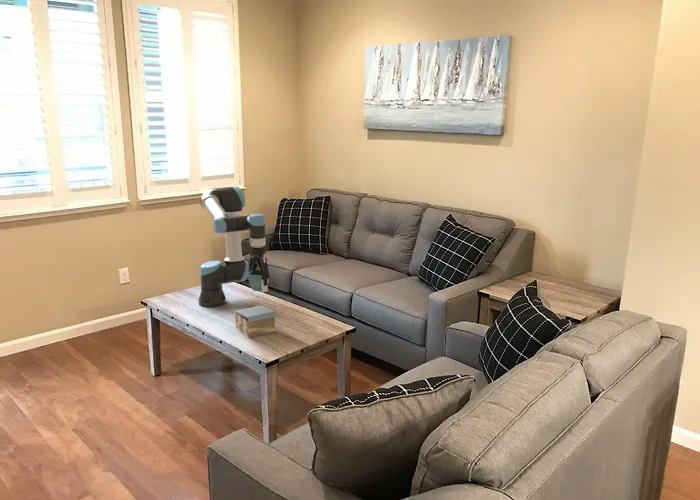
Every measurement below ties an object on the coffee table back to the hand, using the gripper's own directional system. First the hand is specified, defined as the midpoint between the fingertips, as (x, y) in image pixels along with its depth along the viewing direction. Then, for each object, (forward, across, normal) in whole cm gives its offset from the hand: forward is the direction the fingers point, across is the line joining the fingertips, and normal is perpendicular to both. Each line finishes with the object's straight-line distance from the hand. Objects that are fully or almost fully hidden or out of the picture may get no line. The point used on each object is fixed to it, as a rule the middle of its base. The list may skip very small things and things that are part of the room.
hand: (259, 288), depth 279 cm
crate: (+20, +2, -4) cm, 21 cm away
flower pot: (+1, 0, 0) cm, 1 cm away
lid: (+13, +3, -4) cm, 14 cm away
